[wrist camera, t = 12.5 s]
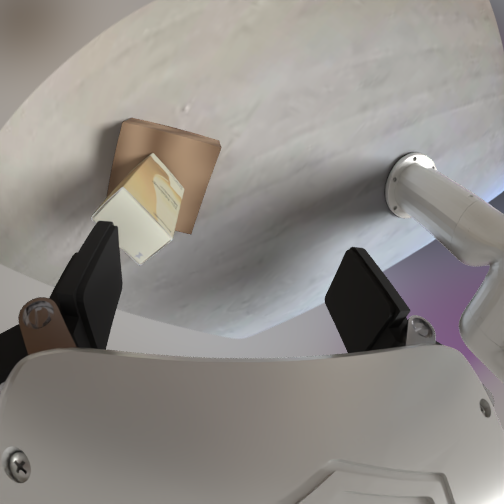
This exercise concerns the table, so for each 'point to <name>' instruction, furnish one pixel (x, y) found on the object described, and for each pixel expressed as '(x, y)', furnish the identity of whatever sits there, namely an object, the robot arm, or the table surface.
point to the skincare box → (144, 209)
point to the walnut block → (168, 161)
